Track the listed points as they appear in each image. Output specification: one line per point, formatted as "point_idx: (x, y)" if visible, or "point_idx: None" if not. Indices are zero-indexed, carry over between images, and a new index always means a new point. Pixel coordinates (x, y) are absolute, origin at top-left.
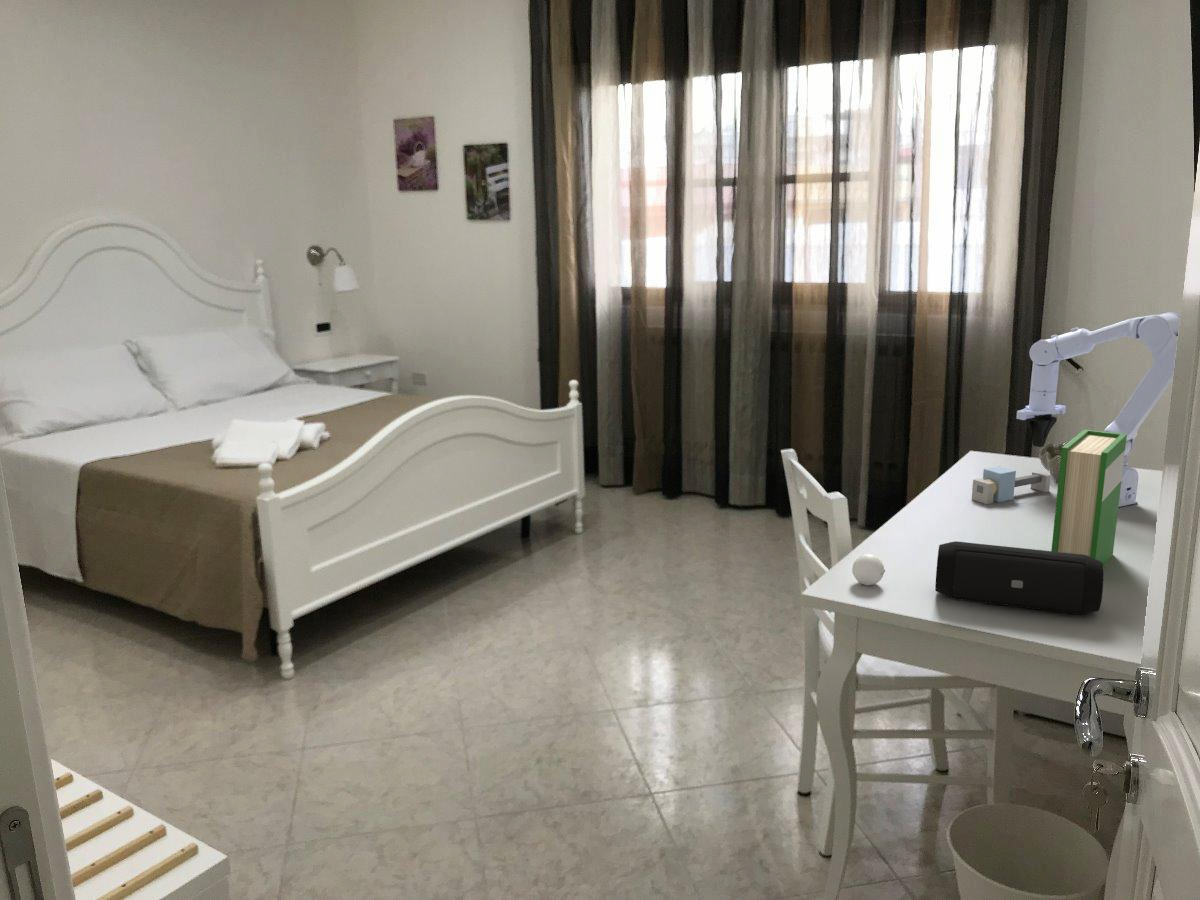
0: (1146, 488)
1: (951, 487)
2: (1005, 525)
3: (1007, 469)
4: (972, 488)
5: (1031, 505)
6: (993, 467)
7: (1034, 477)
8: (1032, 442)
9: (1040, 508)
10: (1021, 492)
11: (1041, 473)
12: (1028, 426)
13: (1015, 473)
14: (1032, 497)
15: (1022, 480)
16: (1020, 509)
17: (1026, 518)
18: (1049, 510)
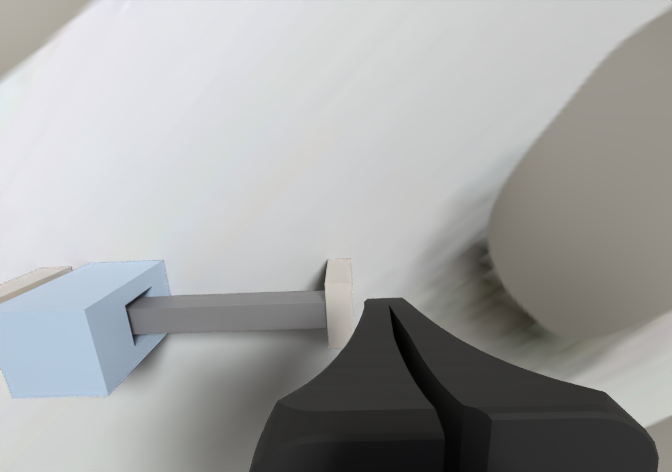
0: (649, 417)
1: (57, 113)
2: (2, 464)
3: (86, 365)
4: (2, 284)
5: (185, 386)
6: (43, 313)
7: (283, 328)
8: (365, 305)
9: (188, 413)
10: (259, 280)
11: (341, 316)
12: (325, 369)
13: (116, 386)
14: (249, 334)
15: (216, 328)
16: (127, 397)
17: (90, 451)
18: (198, 434)
